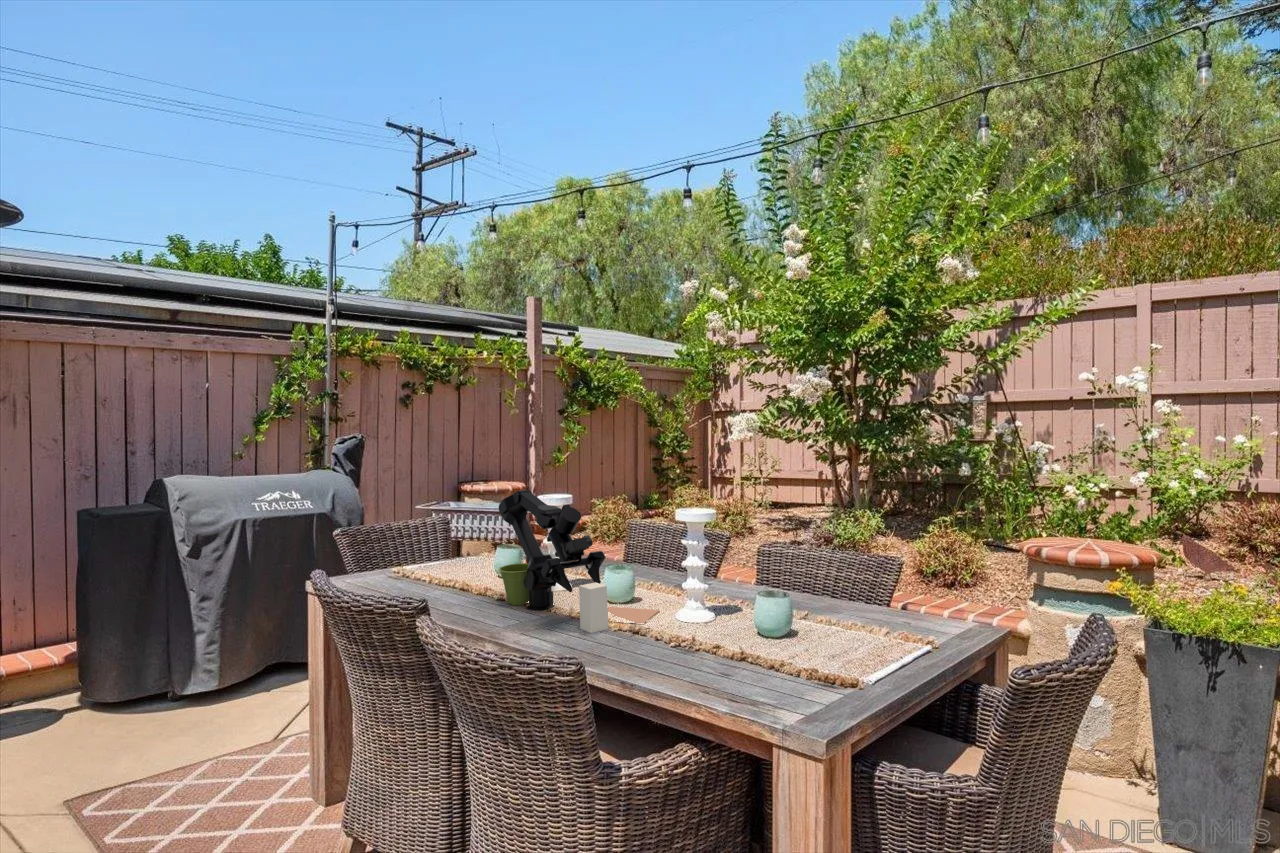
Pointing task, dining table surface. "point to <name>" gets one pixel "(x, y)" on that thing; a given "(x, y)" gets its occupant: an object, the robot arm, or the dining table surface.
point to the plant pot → (515, 583)
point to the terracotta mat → (633, 613)
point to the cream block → (593, 607)
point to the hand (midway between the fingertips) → (585, 588)
